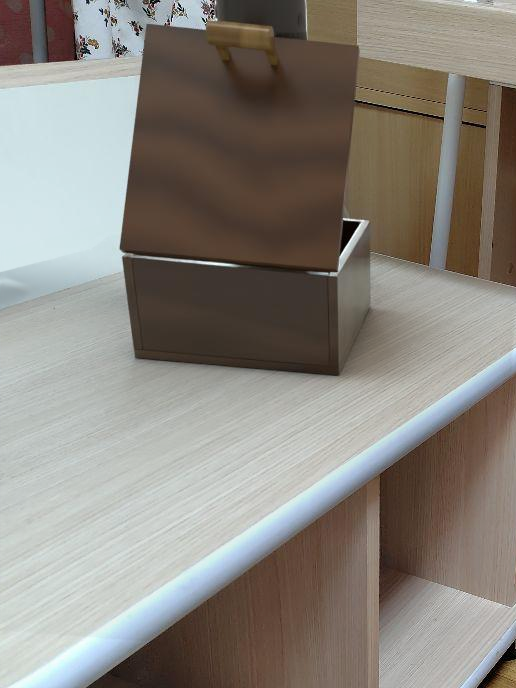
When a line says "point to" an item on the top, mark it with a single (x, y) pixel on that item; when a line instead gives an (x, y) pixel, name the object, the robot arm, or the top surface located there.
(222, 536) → the top surface
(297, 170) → the lid
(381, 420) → the top surface
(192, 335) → the chest
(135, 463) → the top surface
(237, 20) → the robot arm
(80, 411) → the top surface
